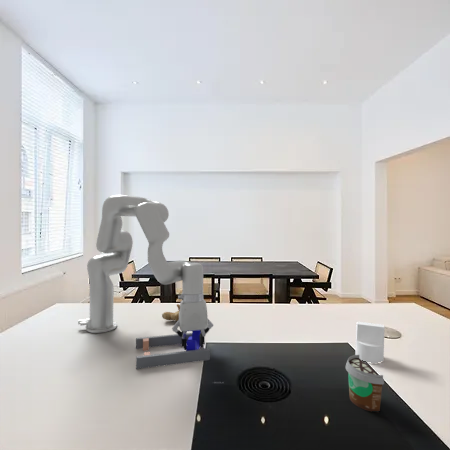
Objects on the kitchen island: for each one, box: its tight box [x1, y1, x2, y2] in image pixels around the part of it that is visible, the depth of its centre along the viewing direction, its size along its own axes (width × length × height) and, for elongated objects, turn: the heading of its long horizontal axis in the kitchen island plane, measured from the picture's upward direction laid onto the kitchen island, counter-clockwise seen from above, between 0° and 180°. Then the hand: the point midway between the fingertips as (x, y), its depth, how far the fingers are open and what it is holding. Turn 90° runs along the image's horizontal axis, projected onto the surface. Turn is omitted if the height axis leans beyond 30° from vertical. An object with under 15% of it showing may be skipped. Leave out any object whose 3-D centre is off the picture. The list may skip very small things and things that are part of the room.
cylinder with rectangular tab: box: [354, 321, 385, 363], centre depth 106 cm, size 9×9×12 cm
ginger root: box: [161, 303, 180, 322], centre depth 141 cm, size 16×16×8 cm
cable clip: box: [185, 330, 201, 351], centre depth 108 cm, size 12×4×6 cm, turn 176°
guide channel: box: [135, 332, 211, 370], centre depth 107 cm, size 24×16×4 cm
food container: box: [345, 354, 385, 412], centre depth 81 cm, size 12×6×10 cm, turn 5°
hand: (193, 346), depth 109 cm, fingers closed on cable clip, 5 cm apart
